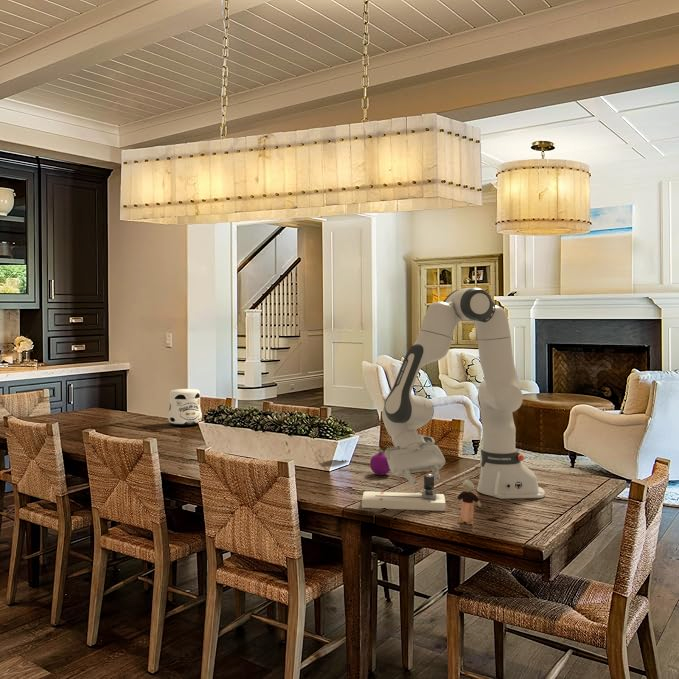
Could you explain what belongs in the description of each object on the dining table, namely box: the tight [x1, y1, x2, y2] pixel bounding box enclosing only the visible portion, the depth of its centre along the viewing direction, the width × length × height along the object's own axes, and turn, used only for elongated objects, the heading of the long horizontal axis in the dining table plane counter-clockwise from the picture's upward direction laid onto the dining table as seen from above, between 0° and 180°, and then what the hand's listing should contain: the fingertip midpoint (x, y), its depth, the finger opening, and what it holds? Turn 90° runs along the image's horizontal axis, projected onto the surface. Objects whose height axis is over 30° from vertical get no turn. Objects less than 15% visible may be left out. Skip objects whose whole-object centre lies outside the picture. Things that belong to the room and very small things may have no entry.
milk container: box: [167, 388, 203, 427], centre depth 363 cm, size 17×17×18 cm
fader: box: [421, 473, 437, 499], centre depth 220 cm, size 4×4×7 cm
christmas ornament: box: [369, 448, 391, 476], centre depth 259 cm, size 8×8×10 cm
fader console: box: [361, 490, 446, 512], centre depth 221 cm, size 26×10×3 cm, turn 84°
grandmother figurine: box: [455, 479, 482, 525], centre depth 203 cm, size 8×4×13 cm, turn 69°
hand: (426, 481), depth 221 cm, fingers open, 8 cm apart
